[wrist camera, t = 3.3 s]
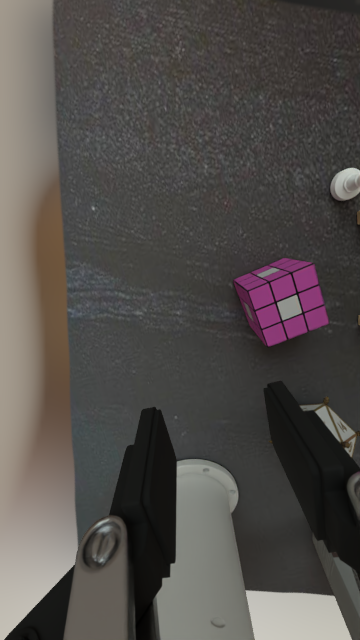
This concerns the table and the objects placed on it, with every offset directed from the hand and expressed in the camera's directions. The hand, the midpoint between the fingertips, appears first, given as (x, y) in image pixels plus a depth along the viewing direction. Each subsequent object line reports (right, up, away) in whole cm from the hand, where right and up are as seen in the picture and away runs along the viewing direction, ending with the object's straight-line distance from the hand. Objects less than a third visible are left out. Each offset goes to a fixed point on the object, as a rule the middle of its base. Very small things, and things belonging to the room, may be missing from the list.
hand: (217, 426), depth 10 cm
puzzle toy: (+8, +7, +16) cm, 19 cm away
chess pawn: (+14, +17, +13) cm, 25 cm away
